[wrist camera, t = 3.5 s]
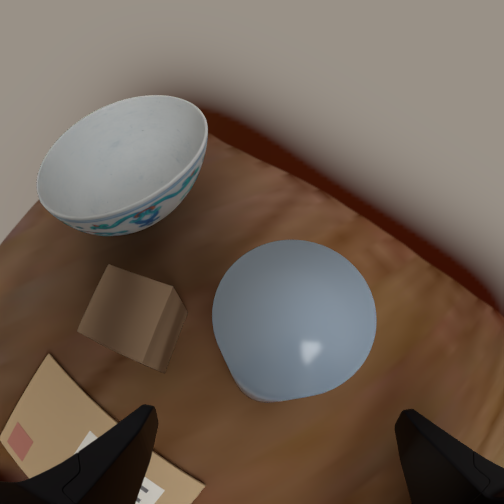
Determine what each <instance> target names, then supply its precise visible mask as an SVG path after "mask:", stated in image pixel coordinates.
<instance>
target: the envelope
mask: <svg viewBox="0 0 504 504" xmlns="http://www.w3.org/2000/svg"><path fill="white" fill-rule="evenodd" d="M116 424H118V422H117V421H115V420H114V419H113V418H112V417H111V416H110V415H109V414H107V413H106V412H105V411H104V410H103V409H102V408H101V407H100V406H99V405H98V404H97V403H96V402H95V401H94V400H92V399H91V398H90V397H89V396H88V395H87V394H86V393H85V392H84V391H83V390H82V389H81V388H80V387H79V386H78V384H77V383H76V382H75V381H74V380H73V379H72V378H71V377H70V376H69V375H68V374H67V373H66V372H65V371H64V369H63V368H62V367H61V366H60V365H59V364H58V363H57V361H56V360H55V359H54V358H53V357H52V356H51V354H49V353H48V355H47V356H46V358H45V360H44V361H43V363H42V364H41V366H40V367H39V369H38V370H37V372H36V374H35V375H34V377H33V378H32V380H31V382H30V383H29V385H28V387H27V388H26V390H25V392H24V393H23V395H22V397H21V399H20V400H19V402H18V404H17V406H16V407H15V409H14V411H13V413H12V415H11V416H10V418H9V420H8V422H7V424H6V426H5V428H4V430H3V432H2V434H1V436H0V441H1V442H2V444H3V445H4V447H5V448H6V449H7V451H8V452H9V454H10V455H11V456H12V458H13V459H14V460H15V461H16V463H17V464H18V465H19V467H20V468H21V469H22V470H23V471H24V473H25V474H26V475H27V476H28V477H29V478H32V477H34V476H36V475H38V474H40V473H42V472H44V471H47V470H49V469H51V468H52V467H54V466H56V465H58V464H60V463H62V462H63V461H65V460H66V459H68V458H70V457H71V456H73V455H74V454H75V453H78V452H79V451H80V450H81V449H83V448H84V447H86V446H87V445H88V444H90V443H91V442H93V441H94V440H96V439H97V438H98V437H100V436H101V435H103V434H104V433H105V432H107V431H108V430H109V429H111V428H112V427H114V426H115V425H116ZM204 487H205V484H203V483H202V482H200V481H198V480H197V479H195V478H193V477H192V476H190V475H188V474H187V473H185V472H184V471H182V470H180V469H179V468H177V467H176V466H174V465H173V464H171V463H170V462H168V461H167V460H166V459H164V458H163V457H161V456H160V455H158V454H157V453H156V452H154V451H152V456H151V460H150V463H149V466H148V469H147V472H146V475H145V477H144V480H143V483H142V486H141V489H140V491H139V494H138V497H137V500H136V503H135V504H191V503H192V502H193V501H194V499H195V498H196V497H197V496H198V494H199V493H200V492H201V491H202V489H203V488H204Z"/></svg>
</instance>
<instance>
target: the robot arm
mask: <svg viewBox="0 0 504 504" xmlns="http://www.w3.org/2000/svg"><path fill="white" fill-rule="evenodd" d="M157 428H158V418H157V413H156V409H155V407H154V406H151V405H146V404H144V405H142V406H140V407H139V408H138V409H136V410H135V411H134V412H132V413H131V414H130V415H128V416H127V417H126V418H124V419H123V420H122V421H120V422H119V423H118V424H116V425H115V426H114V427H112V428H111V429H109V430H108V431H107V432H105V433H104V434H103V435H101V436H100V437H98V438H97V439H96V440H94V441H93V442H91V443H90V444H88V445H87V446H86V447H84V448H83V449H81V450H80V451H79V452H78V453H75V454H74V455H73V456H71V457H70V458H68V459H66V460H65V461H63V462H62V463H60V464H58V465H56V466H54V467H52V468H51V469H49V470H47V471H44V472H42V473H40V474H38V475H36V476H34V477H32V478H29V479H27V480H25V481H21V482H1V481H0V504H135V503H136V500H137V497H138V494H139V491H140V489H141V486H142V483H143V480H144V477H145V475H146V472H147V469H148V466H149V463H150V460H151V456H152V451H153V447H154V442H155V437H156V433H157ZM395 433H396V439H397V445H398V450H399V456H400V461H401V465H402V469H403V472H404V476H405V479H406V483H407V487H408V490H409V494H410V498H411V502H412V504H504V468H502V467H500V466H498V465H496V464H494V463H493V462H491V461H489V460H487V459H486V458H484V457H482V456H481V455H479V454H478V453H476V452H475V451H473V450H472V449H470V448H469V447H467V446H466V445H464V444H463V443H461V442H460V441H458V440H457V439H455V438H454V437H452V436H451V435H449V434H448V433H447V432H445V431H444V430H442V429H441V428H439V427H438V426H436V425H435V424H434V423H432V422H431V421H429V420H428V419H426V418H425V417H424V416H422V415H421V414H419V413H418V412H417V411H415V410H414V409H407V410H403V411H402V412H401V414H400V416H399V418H398V420H397V422H396V424H395Z"/></svg>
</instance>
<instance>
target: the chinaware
mask: <svg viewBox="0 0 504 504" xmlns="http://www.w3.org/2000/svg"><path fill="white" fill-rule="evenodd" d="M207 137H208V126H207V121H206V119H205V117H204V115H203V113H202V112H201V111H200V110H199V109H198V108H197V107H196V106H195V105H193V104H192V103H190V102H188V101H186V100H183V99H180V98H177V97H172V96H165V95H147V96H139V97H134V98H129V99H125V100H121V101H118V102H115V103H112V104H110V105H107V106H105V107H102V108H100V109H99V110H96V111H94V112H92V113H91V114H89V115H87V116H86V117H84V118H83V119H81V120H79V121H78V122H77V123H75V124H74V125H73V126H71V127H70V128H69V129H68V130H67V131H66V132H65V133H64V134H63V135H61V136H60V138H59V139H58V140H57V141H56V142H55V143H54V144H53V146H52V147H51V148H50V150H49V151H48V153H47V154H46V156H45V158H44V160H43V162H42V164H41V166H40V169H39V172H38V177H37V194H38V197H39V200H40V202H41V203H42V205H43V206H44V207H45V208H46V210H48V211H49V212H50V213H51V214H52V215H53V216H55V217H56V218H57V219H59V220H60V221H62V222H63V223H65V224H67V225H68V226H70V227H72V228H74V229H77V230H79V231H82V232H85V233H88V234H93V235H99V236H120V235H126V234H131V233H135V232H138V231H141V230H143V229H146V228H148V227H150V226H152V225H154V224H156V223H157V222H159V221H160V220H162V219H163V218H165V217H166V216H167V215H169V214H170V213H171V212H172V211H173V210H174V209H175V208H176V207H177V206H178V205H179V204H180V203H181V202H182V201H183V199H184V198H185V197H186V196H187V194H188V193H189V191H190V190H191V188H192V186H193V185H194V183H195V181H196V179H197V176H198V174H199V172H200V169H201V166H202V163H203V160H204V156H205V151H206V145H207Z"/></svg>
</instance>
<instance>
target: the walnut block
mask: <svg viewBox="0 0 504 504" xmlns="http://www.w3.org/2000/svg"><path fill="white" fill-rule="evenodd" d="M187 313H188V312H187V310H186V308H185V306H184V305H183V303H182V301H181V299H180V298H179V296H178V294H177V292H176V291H175V289H174V287H173V286H170V285H167V284H164V283H161V282H158V281H155V280H152V279H149V278H146V277H144V276H141V275H138V274H135V273H132V272H129V271H126V270H123V269H121V268H118V267H115V266H112V265H110V264H108V266H107V268H106V270H105V272H104V274H103V276H102V278H101V280H100V282H99V284H98V286H97V288H96V290H95V292H94V294H93V296H92V298H91V301H90V303H89V305H88V307H87V309H86V311H85V314H84V316H83V318H82V320H81V323H80V325H79V327H78V330H77V331H78V332H79V333H81V334H83V335H85V336H86V337H88V338H90V339H92V340H94V341H95V342H97V343H99V344H101V345H103V346H105V347H107V348H108V349H110V350H113V351H115V352H117V353H119V354H121V355H123V356H125V357H127V358H130V359H132V360H134V361H136V362H139V363H141V364H143V365H146V366H148V367H150V368H153V369H155V370H157V371H160V372H162V373H165V372H166V369H167V366H168V363H169V361H170V358H171V355H172V353H173V350H174V347H175V345H176V342H177V339H178V337H179V334H180V332H181V329H182V326H183V324H184V321H185V319H186V316H187Z"/></svg>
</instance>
